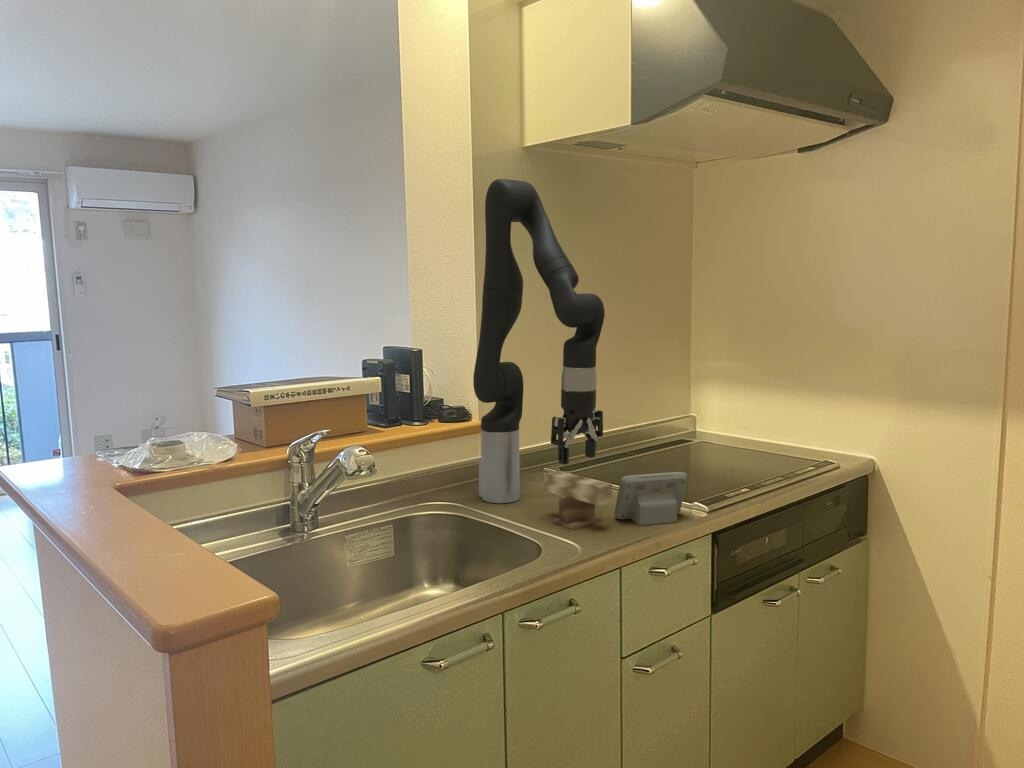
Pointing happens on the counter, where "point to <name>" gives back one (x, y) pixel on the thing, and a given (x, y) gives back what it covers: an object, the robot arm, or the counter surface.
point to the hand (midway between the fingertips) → (576, 460)
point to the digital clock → (651, 497)
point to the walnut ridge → (575, 513)
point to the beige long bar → (578, 487)
